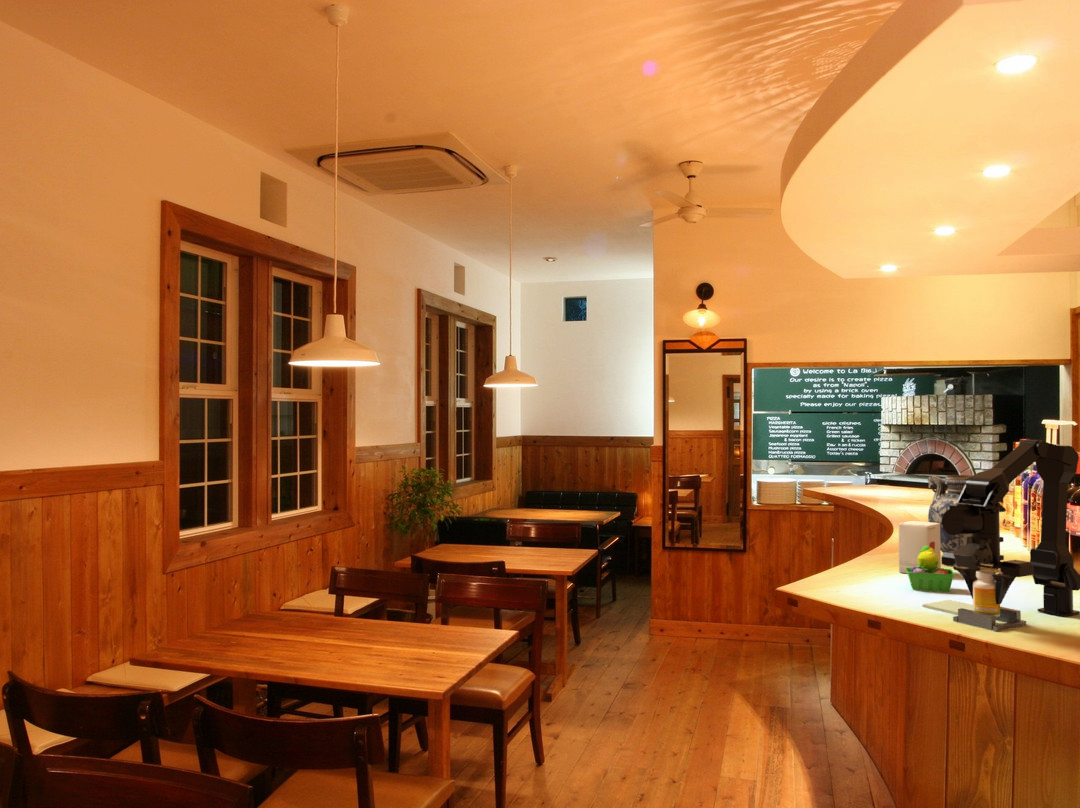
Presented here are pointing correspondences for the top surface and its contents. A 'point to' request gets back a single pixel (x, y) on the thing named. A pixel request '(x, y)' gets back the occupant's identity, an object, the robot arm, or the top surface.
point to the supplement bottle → (985, 593)
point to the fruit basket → (929, 573)
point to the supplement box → (917, 542)
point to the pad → (948, 606)
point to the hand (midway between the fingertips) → (986, 601)
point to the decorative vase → (946, 508)
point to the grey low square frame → (991, 619)
